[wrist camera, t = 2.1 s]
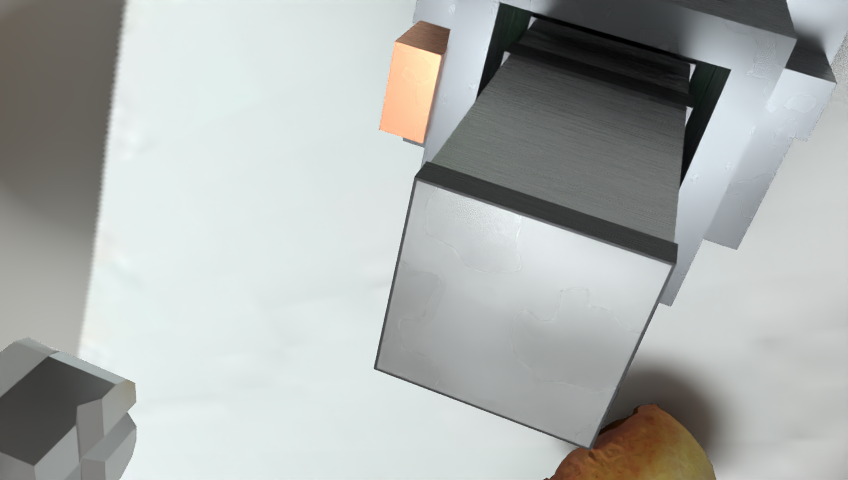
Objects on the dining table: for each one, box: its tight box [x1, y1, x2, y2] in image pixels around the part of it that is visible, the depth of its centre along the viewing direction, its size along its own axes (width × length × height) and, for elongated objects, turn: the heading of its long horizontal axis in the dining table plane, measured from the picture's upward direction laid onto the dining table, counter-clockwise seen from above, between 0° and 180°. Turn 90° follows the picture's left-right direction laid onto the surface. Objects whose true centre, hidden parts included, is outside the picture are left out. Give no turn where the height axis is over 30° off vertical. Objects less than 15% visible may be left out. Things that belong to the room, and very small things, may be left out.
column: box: [374, 12, 697, 451], centre depth 20 cm, size 4×4×18 cm
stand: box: [379, 0, 848, 306], centre depth 24 cm, size 14×14×12 cm
